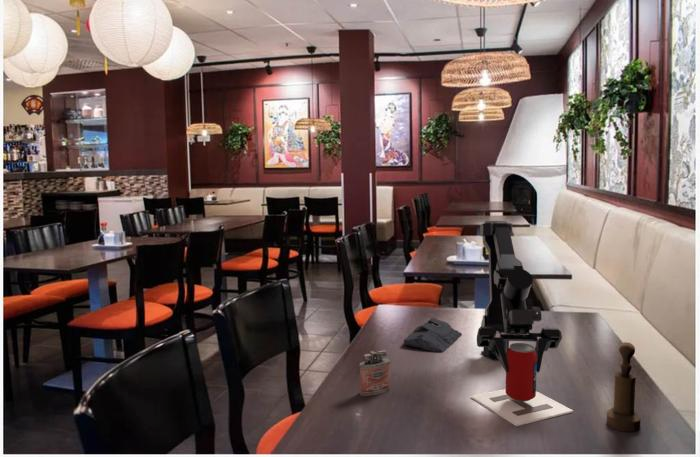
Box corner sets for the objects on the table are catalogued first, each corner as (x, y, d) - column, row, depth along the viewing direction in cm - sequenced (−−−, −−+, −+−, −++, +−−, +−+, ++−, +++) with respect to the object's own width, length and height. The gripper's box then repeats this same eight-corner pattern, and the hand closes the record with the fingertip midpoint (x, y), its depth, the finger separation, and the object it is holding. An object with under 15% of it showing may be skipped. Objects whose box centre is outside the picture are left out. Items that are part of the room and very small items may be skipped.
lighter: (363, 397, 137) (363, 356, 135) (357, 392, 140) (356, 352, 138) (392, 390, 140) (392, 351, 139) (385, 385, 143) (385, 347, 142)
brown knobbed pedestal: (600, 418, 125) (604, 338, 122) (628, 417, 125) (633, 337, 123) (617, 433, 118) (621, 348, 116) (646, 431, 119) (651, 347, 116)
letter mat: (524, 386, 142) (524, 384, 142) (573, 412, 128) (573, 410, 128) (471, 397, 136) (471, 395, 136) (516, 426, 121) (516, 423, 121)
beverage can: (542, 400, 130) (544, 349, 128) (517, 405, 128) (519, 353, 126) (522, 389, 136) (524, 340, 135) (499, 393, 134) (500, 344, 132)
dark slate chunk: (395, 348, 173) (395, 332, 173) (419, 328, 193) (419, 314, 192) (443, 355, 166) (444, 339, 166) (464, 334, 186) (464, 320, 185)
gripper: (479, 293, 133) (485, 355, 124) (561, 294, 132) (573, 357, 122) (474, 316, 142) (479, 376, 133) (551, 317, 141) (561, 378, 131)
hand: (522, 371), depth 130 cm, fingers closed on beverage can, 7 cm apart
